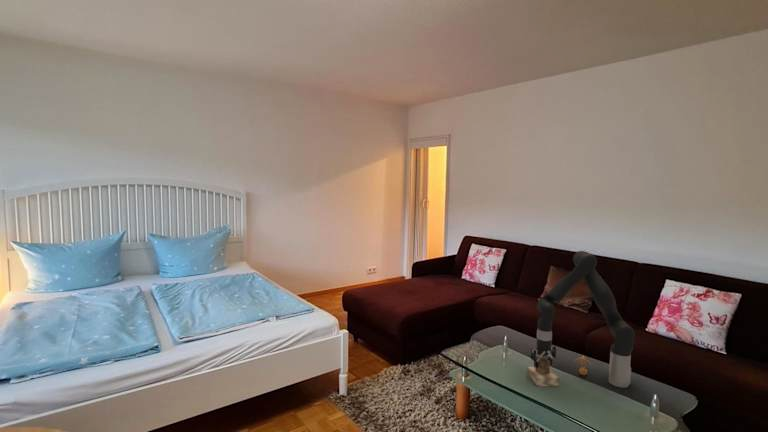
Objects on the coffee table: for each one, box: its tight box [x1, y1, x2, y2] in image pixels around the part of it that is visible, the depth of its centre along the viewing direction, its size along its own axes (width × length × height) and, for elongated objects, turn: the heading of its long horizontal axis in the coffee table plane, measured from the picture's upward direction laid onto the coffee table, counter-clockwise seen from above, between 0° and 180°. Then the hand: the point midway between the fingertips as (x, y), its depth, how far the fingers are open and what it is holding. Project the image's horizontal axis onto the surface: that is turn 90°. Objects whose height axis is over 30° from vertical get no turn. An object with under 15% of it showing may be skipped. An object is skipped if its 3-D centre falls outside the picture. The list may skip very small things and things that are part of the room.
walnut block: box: [534, 356, 551, 375], centre depth 211 cm, size 5×5×7 cm
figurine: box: [574, 354, 593, 376], centre depth 215 cm, size 8×6×12 cm
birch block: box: [526, 366, 560, 388], centre depth 211 cm, size 12×12×5 cm
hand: (543, 366), depth 211 cm, fingers open, 8 cm apart
